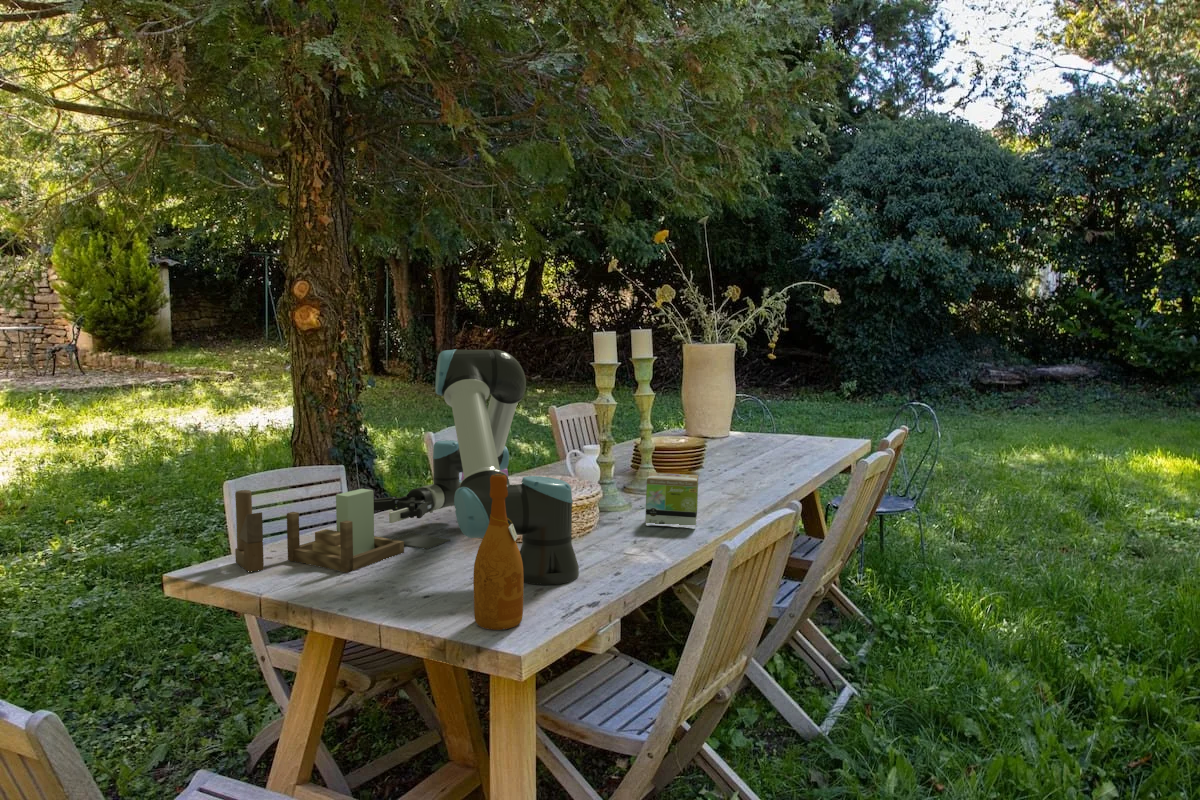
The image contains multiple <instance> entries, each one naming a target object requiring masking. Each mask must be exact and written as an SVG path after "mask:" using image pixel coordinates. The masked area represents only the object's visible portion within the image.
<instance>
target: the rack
mask: <svg viewBox="0 0 1200 800" xmlns="http://www.w3.org/2000/svg"><path fill="white" fill-rule="evenodd" d="M286 531H287V532H286V533H287V534H286V535H287V539H286V540H287V542H286V543H287V544H286V545H287V561H288V560H290V561H289V562H292V561H296V562H295V563H299V562H302V563H301V564H303V563H306V564H305V565H308V564H311V565H310V566H313V565H316V566H315V567H318V566H320V567H319V568H323V567H324V568H323V569H328V568H329V569H328V570H332V569H334V571H337V570H338V572H340V573H345V572H346V573H345V574H348V573H351V572H353V571H357V570H359V569H361V568H365V567H368V566H371V565H373V564H372V563H374V564H376V563H379V562H382V561H384V560H383V559H385V560H387V559H386V558H388V559H390V558H389V557H391V558H393V557H396V556H399V555H401V553H402V554H405V546H404V541H399V540H393V538H388V537H387V538H386V537H381V536H375V535H374V549H372V550H369V551H366V552H363V553H360V554H357V555H354V556H353V525H352V521H347V520H346V521H342V522H340V549H341V556H336V555H331V554H326V553H321V552H316V551H313V545H312V543H314V542H315V540H312V541H310V542H307V543H303V544H300V543H301V542H300V540H301V539H300V513H299V512H297V511H289V512H287V513H286ZM398 554H399V555H398ZM395 555H396V556H395ZM392 556H393V557H392ZM381 560H382V561H381ZM378 561H379V562H378ZM375 562H376V563H375ZM370 564H371V565H370ZM367 565H368V566H367ZM356 569H357V570H356Z"/></svg>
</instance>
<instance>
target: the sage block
mask: <svg viewBox="0 0 1200 800" xmlns="http://www.w3.org/2000/svg"><path fill="white" fill-rule="evenodd" d="M374 498H375V497H374V490H373V489H367V488H360V489H359V488H358V489H354V490H350V491H345V492H343V493H337V494H335V512H336V513H335V514H336V518H335V519H336V521H335V522H336V524H335V525H336V531H339V532H340V522H342V521H346V520H347V521H352V525H353V556H354V555H357V554H360V553H363V552H366V551H369V550H372V549H374V536H375V511H374Z"/></svg>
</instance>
